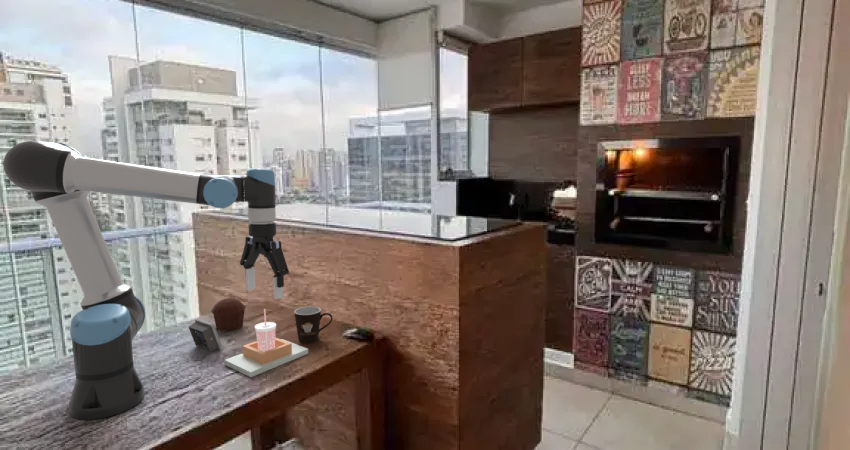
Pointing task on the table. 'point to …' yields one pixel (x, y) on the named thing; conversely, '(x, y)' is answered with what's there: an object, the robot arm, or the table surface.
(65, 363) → the table surface
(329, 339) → the table surface
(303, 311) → the coffee mug
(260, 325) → the beverage cup
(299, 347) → the cup holder
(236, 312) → the muffin
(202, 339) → the electrical switch
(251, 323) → the table surface
